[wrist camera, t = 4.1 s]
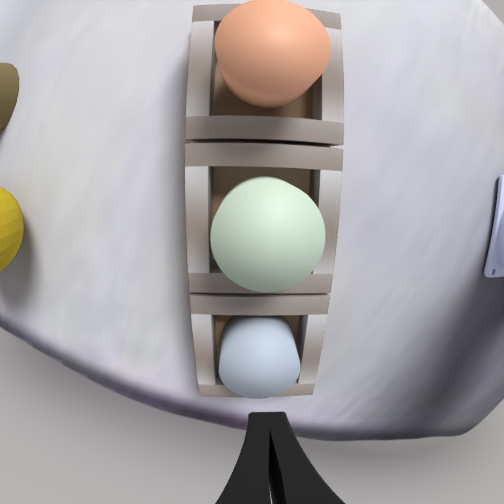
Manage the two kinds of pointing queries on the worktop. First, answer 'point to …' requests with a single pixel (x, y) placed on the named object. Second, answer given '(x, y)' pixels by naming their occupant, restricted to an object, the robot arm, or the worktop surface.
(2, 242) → the lemon
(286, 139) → the panel
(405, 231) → the worktop surface
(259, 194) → the button sage
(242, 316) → the button slate
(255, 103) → the button terracotta
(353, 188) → the worktop surface
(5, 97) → the pepper mill
